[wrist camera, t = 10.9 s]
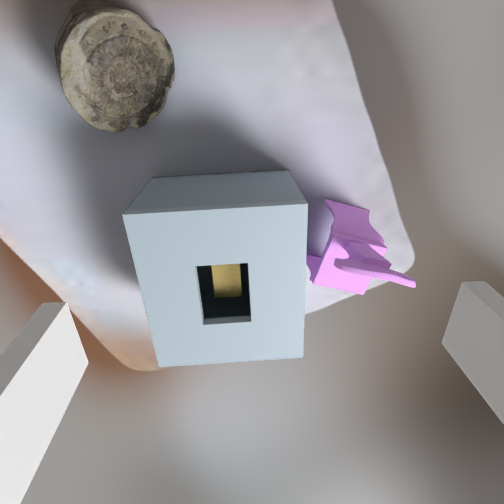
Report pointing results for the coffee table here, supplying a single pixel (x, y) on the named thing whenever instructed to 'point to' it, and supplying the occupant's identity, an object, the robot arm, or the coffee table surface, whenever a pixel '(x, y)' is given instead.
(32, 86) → the coffee table surface
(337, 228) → the toy chair
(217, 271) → the block
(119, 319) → the coffee table surface
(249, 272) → the coin box
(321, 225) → the coffee table surface
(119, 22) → the fossil
